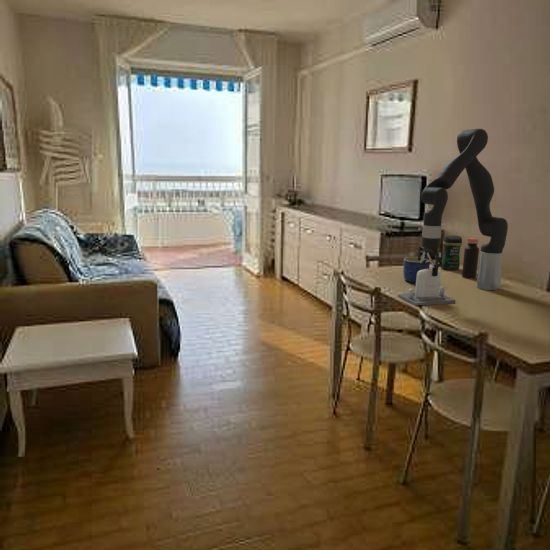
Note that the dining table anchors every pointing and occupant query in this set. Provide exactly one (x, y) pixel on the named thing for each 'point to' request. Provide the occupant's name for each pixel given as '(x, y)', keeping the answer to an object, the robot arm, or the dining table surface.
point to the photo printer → (427, 284)
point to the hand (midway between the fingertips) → (428, 273)
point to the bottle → (470, 259)
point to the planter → (412, 268)
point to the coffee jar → (451, 252)
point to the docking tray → (426, 301)
